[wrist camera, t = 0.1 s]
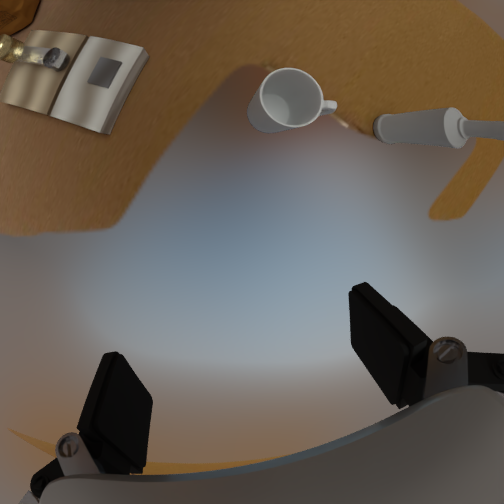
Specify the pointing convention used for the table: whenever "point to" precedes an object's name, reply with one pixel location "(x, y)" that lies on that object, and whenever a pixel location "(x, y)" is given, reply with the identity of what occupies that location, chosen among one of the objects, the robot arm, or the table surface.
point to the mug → (287, 101)
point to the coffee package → (16, 15)
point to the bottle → (434, 128)
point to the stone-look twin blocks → (77, 79)
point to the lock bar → (32, 54)
